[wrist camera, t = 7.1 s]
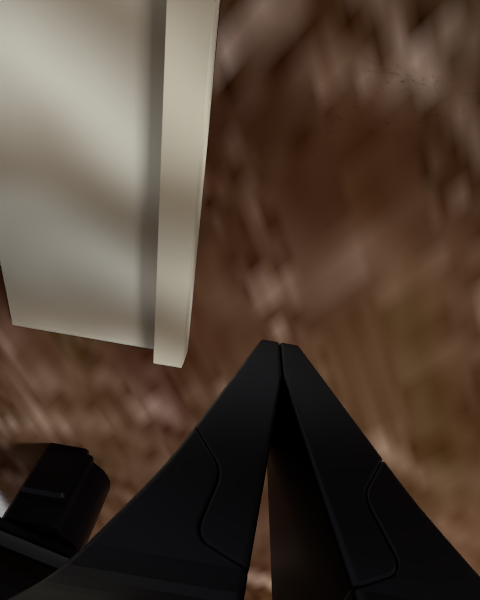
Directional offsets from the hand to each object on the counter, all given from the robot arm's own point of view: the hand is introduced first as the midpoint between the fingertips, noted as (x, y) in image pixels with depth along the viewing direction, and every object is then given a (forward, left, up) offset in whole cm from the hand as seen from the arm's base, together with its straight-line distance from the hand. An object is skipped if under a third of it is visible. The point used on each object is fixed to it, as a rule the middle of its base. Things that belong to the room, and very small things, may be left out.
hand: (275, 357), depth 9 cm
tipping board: (0, +4, -10) cm, 10 cm away
